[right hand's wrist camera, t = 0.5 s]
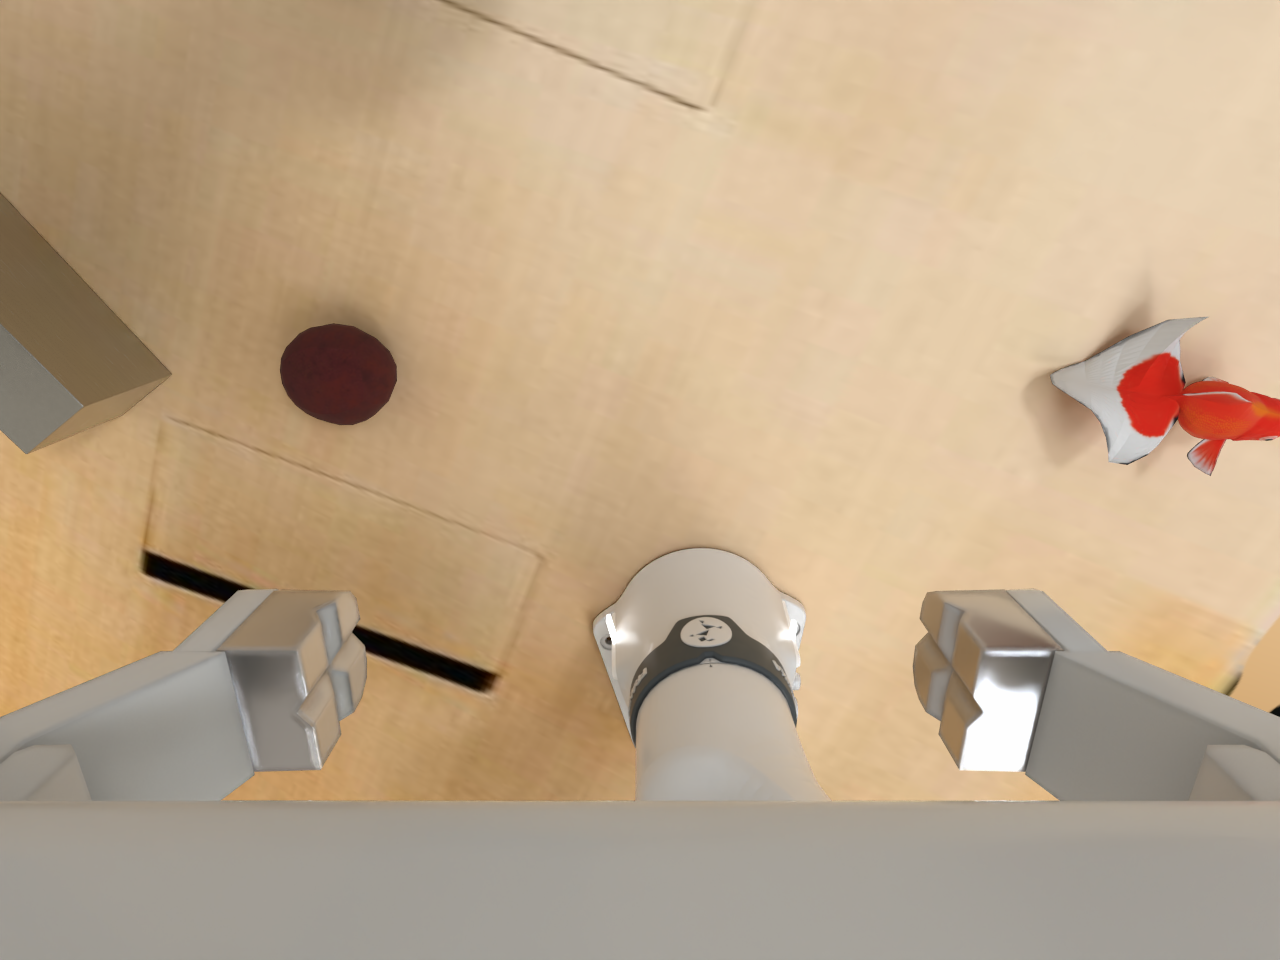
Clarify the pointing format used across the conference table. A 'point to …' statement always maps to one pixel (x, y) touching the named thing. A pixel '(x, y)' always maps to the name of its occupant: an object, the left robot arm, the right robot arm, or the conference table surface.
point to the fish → (1164, 398)
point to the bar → (60, 345)
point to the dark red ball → (338, 373)
